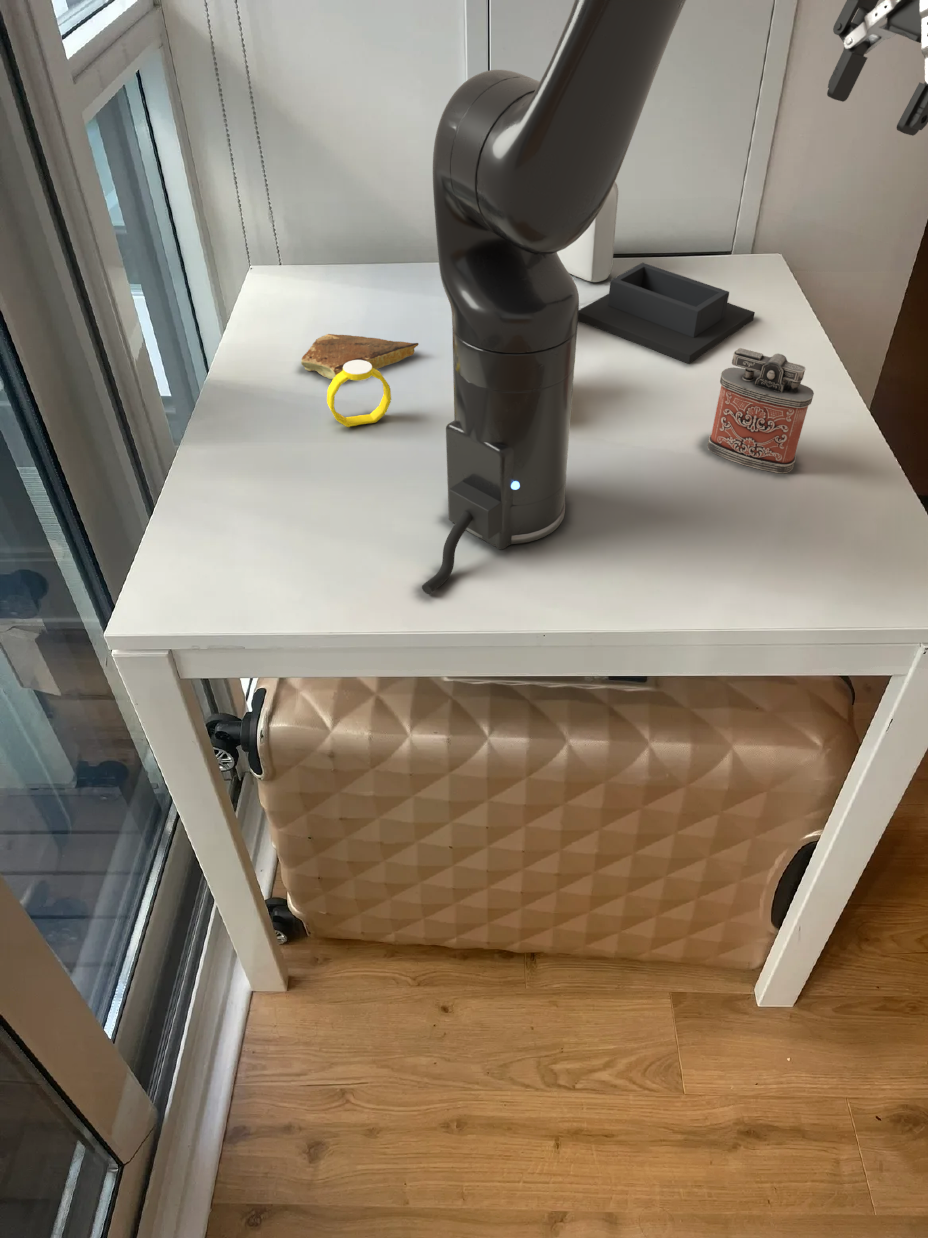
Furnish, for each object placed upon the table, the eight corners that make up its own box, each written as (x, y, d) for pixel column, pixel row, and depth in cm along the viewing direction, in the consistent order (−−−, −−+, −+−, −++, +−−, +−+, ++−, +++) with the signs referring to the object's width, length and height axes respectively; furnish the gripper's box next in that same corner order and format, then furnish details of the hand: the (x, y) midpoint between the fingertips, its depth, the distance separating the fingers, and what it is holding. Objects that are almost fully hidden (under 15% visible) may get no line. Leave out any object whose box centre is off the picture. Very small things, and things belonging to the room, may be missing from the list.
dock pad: (688, 363, 99) (694, 328, 96) (575, 319, 106) (578, 285, 104) (753, 320, 106) (760, 285, 103) (642, 281, 113) (646, 248, 110)
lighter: (798, 459, 86) (826, 360, 79) (786, 478, 84) (814, 377, 77) (715, 434, 89) (734, 336, 82) (701, 451, 87) (720, 353, 80)
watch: (335, 435, 90) (328, 380, 86) (327, 421, 92) (320, 366, 88) (395, 422, 92) (390, 367, 87) (386, 408, 93) (382, 353, 89)
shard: (419, 355, 101) (418, 340, 100) (397, 391, 96) (396, 376, 94) (324, 344, 103) (322, 328, 102) (298, 379, 98) (295, 363, 97)
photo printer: (532, 259, 118) (536, 154, 109) (557, 250, 120) (563, 146, 111) (591, 287, 112) (600, 178, 104) (616, 276, 114) (627, 169, 105)
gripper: (886, -139, 76) (787, 81, 85) (1033, -102, 67) (904, 138, 77) (939, -112, 80) (839, 96, 89) (1084, -73, 71) (955, 151, 81)
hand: (869, 115), depth 83 cm, fingers open, 8 cm apart
